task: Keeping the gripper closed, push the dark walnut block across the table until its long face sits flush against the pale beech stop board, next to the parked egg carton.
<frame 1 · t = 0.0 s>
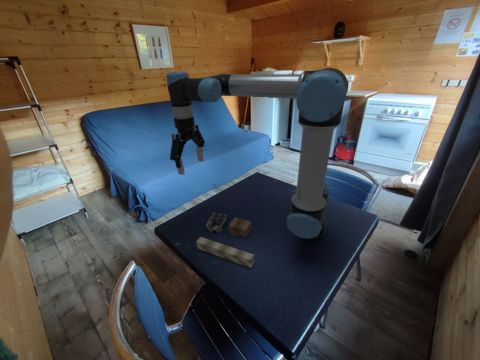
hand: (191, 167, 96), 28 cm above the table, fingers open, 13 cm apart
egg carton: (217, 225, 106), on the table
board: (224, 255, 89), on the table
block: (240, 232, 101), on the table
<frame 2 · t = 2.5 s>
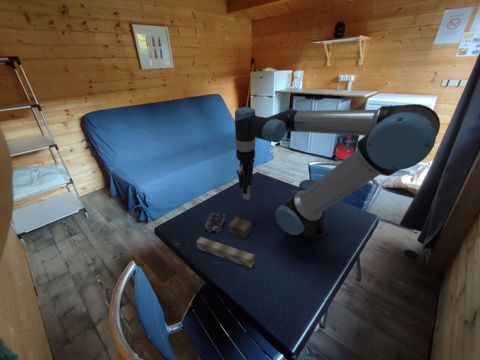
hand: (246, 198, 101), 13 cm above the table, fingers closed
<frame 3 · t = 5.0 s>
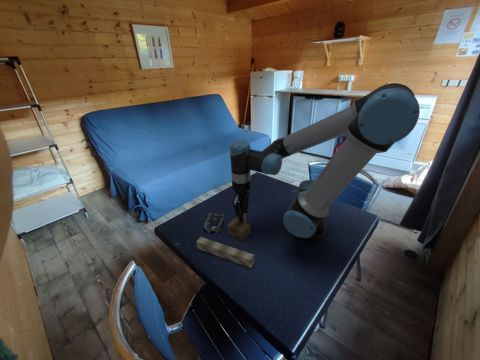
hand: (242, 224, 102), 2 cm above the table, fingers closed
block: (239, 233, 100), on the table, touching gripper
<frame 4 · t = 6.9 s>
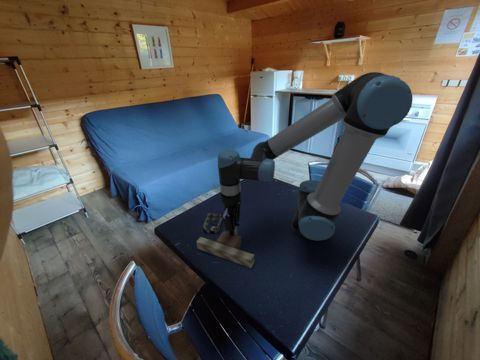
hand: (233, 238, 95), 1 cm above the table, fingers closed
block: (229, 247, 93), on the table
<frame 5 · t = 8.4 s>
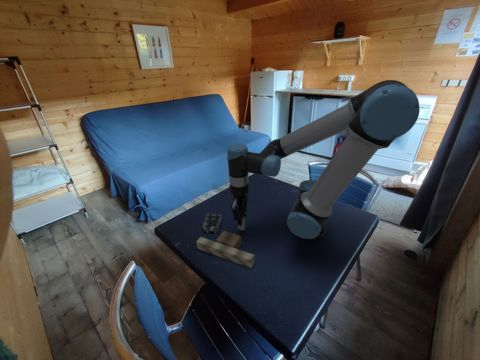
hand: (241, 228, 100), 1 cm above the table, fingers closed
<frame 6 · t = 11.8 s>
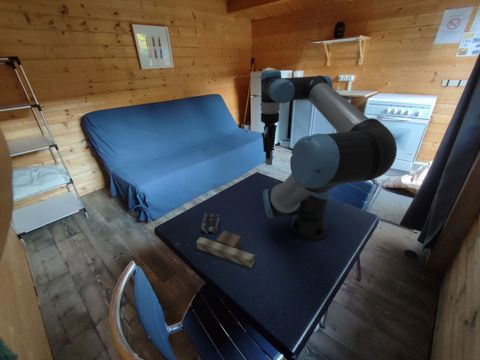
hand: (268, 164, 104), 24 cm above the table, fingers closed
at the end: block inside the target area on the table beside the board (0.7 cm from its centre), on the table; block tilted 0° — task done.
